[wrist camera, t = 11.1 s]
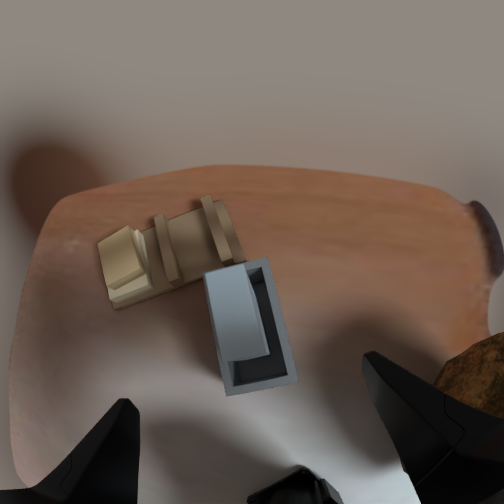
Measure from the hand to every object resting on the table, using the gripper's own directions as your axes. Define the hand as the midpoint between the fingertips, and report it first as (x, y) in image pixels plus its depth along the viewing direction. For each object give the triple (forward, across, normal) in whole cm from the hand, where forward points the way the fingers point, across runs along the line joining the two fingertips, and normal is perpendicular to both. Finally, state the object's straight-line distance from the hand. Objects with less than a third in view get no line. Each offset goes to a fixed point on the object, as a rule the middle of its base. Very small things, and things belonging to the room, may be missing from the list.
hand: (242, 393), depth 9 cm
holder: (+12, 0, +7) cm, 14 cm away
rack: (+18, +7, +1) cm, 20 cm away
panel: (+12, 0, +7) cm, 13 cm away
